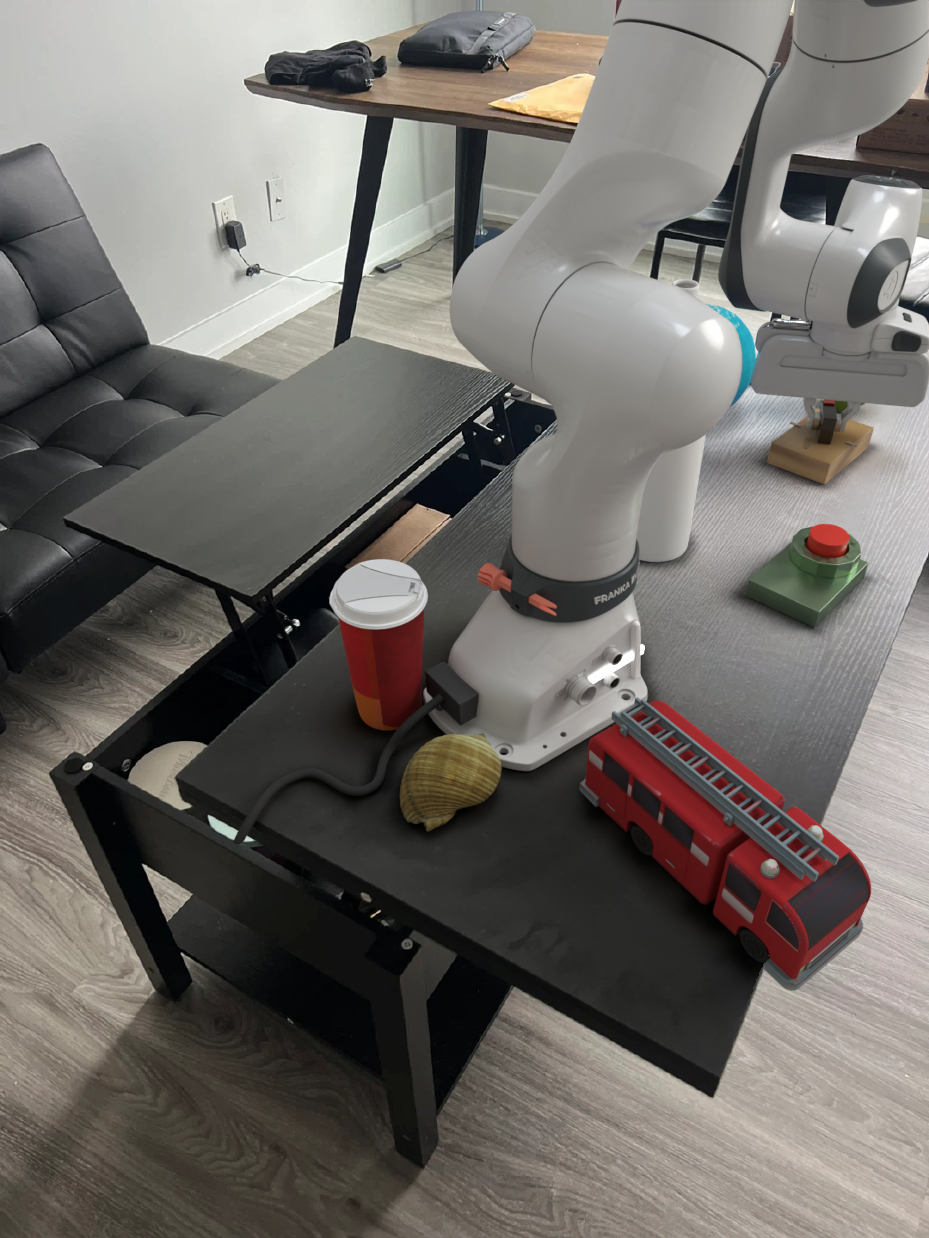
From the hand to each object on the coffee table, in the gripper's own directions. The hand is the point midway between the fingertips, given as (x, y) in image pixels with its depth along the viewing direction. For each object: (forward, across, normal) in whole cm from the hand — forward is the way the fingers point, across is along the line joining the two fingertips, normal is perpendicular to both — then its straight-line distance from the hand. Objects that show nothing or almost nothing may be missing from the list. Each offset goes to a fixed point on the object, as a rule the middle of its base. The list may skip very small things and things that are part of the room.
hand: (824, 428), depth 116 cm
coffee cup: (+4, -40, -56) cm, 69 cm away
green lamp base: (+4, -2, -28) cm, 29 cm away
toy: (+4, -10, -66) cm, 67 cm away
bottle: (+4, -19, -24) cm, 31 cm away
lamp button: (0, -1, -26) cm, 26 cm away
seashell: (+4, -32, -65) cm, 72 cm away
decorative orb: (+4, -17, +8) cm, 19 cm away
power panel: (+4, 0, 0) cm, 4 cm away
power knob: (+1, 0, 0) cm, 1 cm away
